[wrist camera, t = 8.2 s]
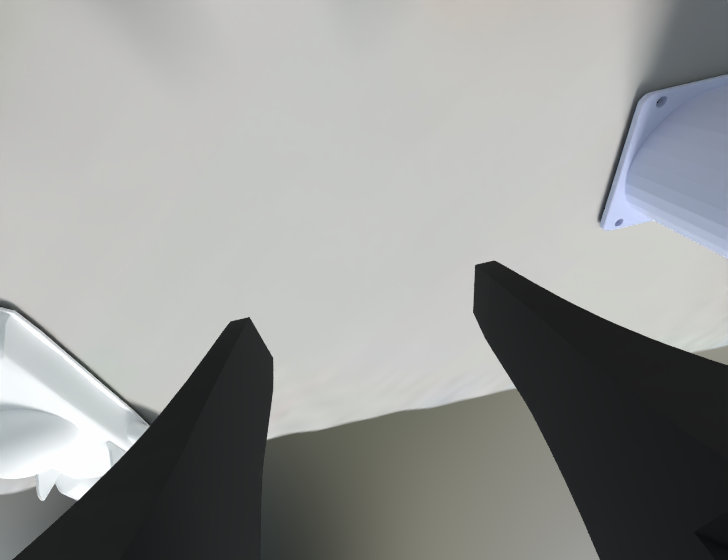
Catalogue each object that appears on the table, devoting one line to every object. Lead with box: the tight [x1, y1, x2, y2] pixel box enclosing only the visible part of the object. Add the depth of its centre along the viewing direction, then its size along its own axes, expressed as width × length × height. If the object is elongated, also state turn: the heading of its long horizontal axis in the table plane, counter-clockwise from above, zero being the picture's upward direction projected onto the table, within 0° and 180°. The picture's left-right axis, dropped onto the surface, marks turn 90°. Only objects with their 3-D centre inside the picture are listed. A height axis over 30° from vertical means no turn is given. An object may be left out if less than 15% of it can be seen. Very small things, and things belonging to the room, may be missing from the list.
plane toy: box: [0, 307, 150, 501], centre depth 22 cm, size 10×20×6 cm, turn 12°
